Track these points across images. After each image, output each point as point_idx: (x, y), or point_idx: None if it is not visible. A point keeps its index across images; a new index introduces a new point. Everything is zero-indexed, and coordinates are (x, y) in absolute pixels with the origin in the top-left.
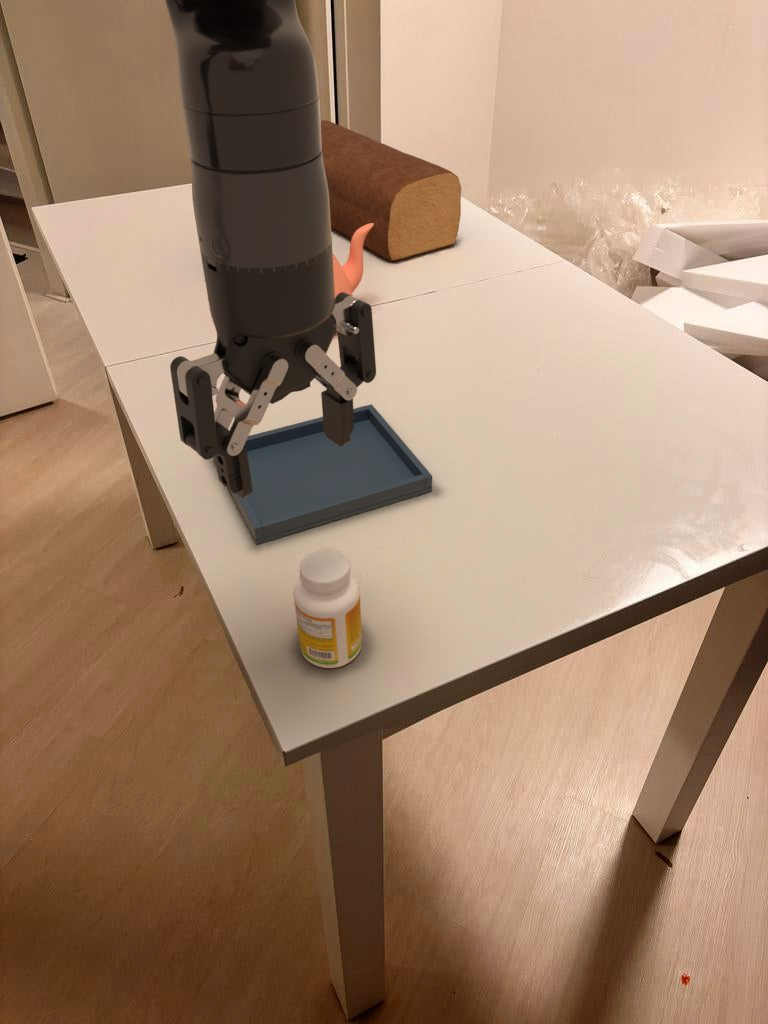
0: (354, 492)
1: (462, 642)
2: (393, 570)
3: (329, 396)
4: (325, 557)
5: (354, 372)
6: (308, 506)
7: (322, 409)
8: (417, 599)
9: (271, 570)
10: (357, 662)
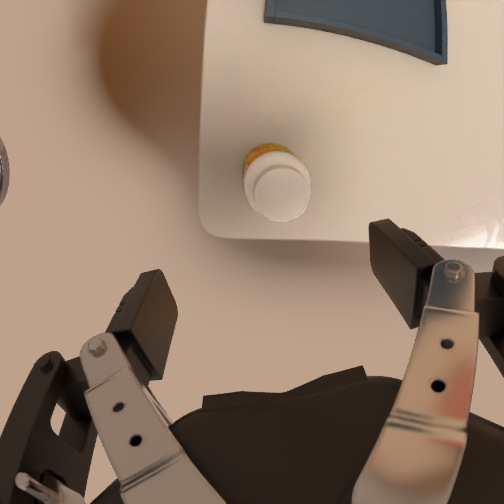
0: (380, 21)
1: (359, 219)
2: (361, 121)
3: (417, 291)
4: (289, 186)
5: (482, 335)
6: (333, 8)
7: (395, 245)
8: (359, 162)
9: (262, 58)
10: None
